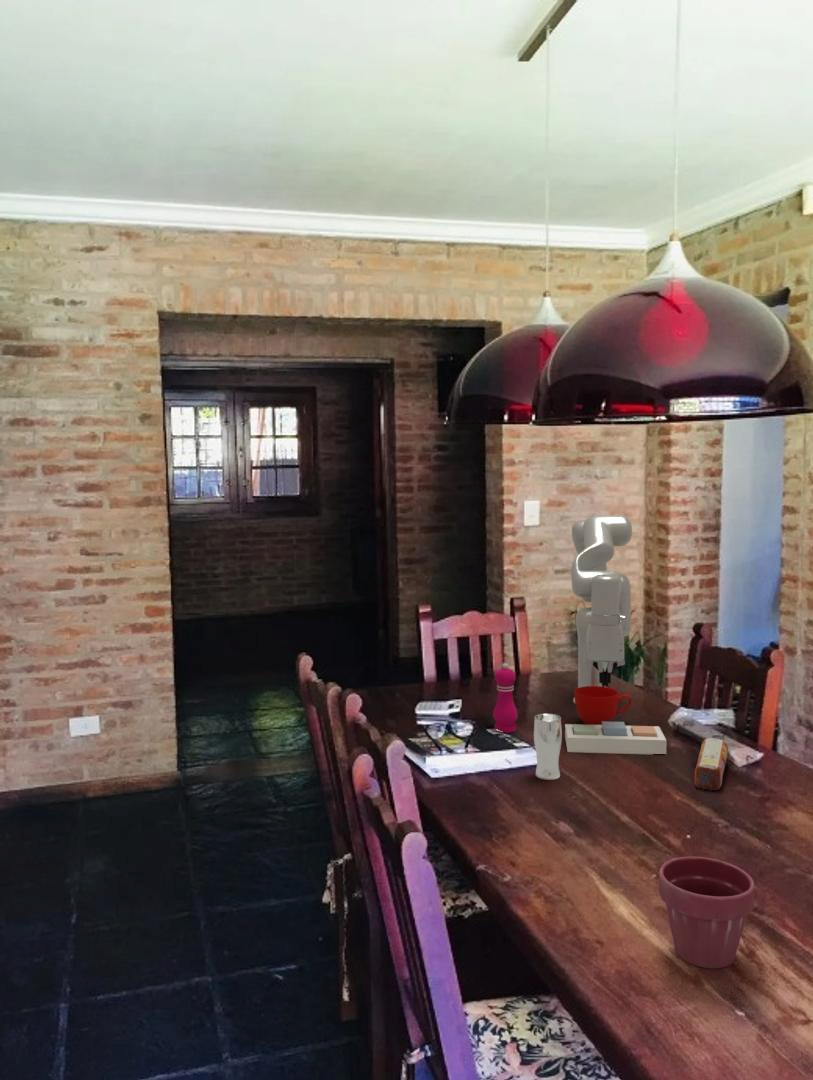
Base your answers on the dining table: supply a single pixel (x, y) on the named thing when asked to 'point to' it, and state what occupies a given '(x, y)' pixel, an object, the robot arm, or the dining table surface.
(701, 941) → the plant pot
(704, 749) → the snack package
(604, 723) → the button slate
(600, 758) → the dining table surface
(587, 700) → the ceramic cup
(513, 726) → the pepper mill
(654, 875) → the dining table surface
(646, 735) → the button terracotta
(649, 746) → the button panel
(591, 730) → the button sage
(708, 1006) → the dining table surface
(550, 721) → the beer glass
